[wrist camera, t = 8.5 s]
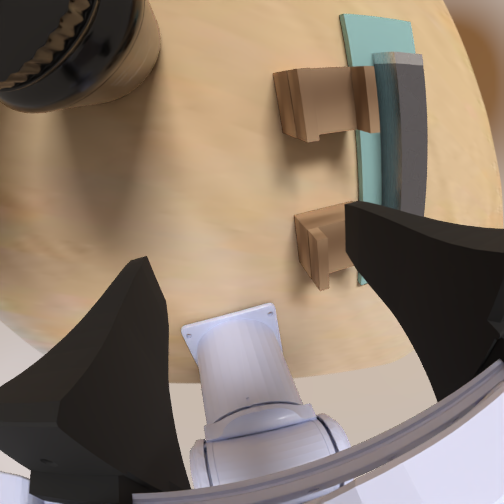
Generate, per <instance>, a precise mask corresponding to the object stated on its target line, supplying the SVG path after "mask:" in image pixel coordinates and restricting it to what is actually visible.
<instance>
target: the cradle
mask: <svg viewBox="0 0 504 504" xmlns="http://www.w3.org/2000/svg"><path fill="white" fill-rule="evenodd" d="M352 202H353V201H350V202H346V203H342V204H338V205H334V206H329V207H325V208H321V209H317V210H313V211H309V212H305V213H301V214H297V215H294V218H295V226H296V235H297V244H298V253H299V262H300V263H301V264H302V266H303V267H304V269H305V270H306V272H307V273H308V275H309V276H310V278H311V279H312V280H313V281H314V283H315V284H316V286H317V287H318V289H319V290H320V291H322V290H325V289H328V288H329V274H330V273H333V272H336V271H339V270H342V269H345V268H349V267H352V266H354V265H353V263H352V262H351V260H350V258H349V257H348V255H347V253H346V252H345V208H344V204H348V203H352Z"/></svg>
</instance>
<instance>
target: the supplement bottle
mask: <svg viewBox="0 0 504 504" xmlns="http://www.w3.org/2000/svg"><path fill="white" fill-rule="evenodd" d="M160 45H161V37H160V30H159V26H158V23H157V20H156V18H155V15H154V13H153V10H152V8H151V6H150V3H149V1H148V0H0V102H1V103H2V104H4V105H5V106H7V107H9V108H11V109H13V110H16V111H19V112H24V113H46V112H52V111H57V110H63V109H68V108H74V107H81V106H87V105H94V104H101V103H107V102H111V101H114V100H117V99H119V98H121V97H123V96H125V95H127V94H129V93H130V92H132V91H133V90H134V89H136V88H137V87H138V86H139V85H140V84H141V83H142V82H143V81H144V80H145V79H146V78H147V76H148V75H149V74H150V72H151V71H152V69H153V67H154V65H155V63H156V61H157V58H158V55H159V51H160Z"/></svg>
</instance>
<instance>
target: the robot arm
mask: <svg viewBox="0 0 504 504" xmlns="http://www.w3.org/2000/svg"><path fill="white" fill-rule="evenodd" d="M344 208H345V252H346V253H347V255H348V257H349V258H350V260H351V262H352V263H353V265H354V266H355V268H356V269H357V271H358V272H359V273H360V274H361V276H362V277H363V278H364V279H365V280H366V282H367V283H368V284H369V285H370V286H371V288H372V289H373V290H374V291H375V292H376V293H377V295H378V296H379V297H380V298H381V299H382V301H383V302H384V303H385V304H386V305H387V307H388V308H389V309H390V310H391V312H392V313H393V314H394V316H395V317H396V318H397V320H398V322H399V323H400V325H401V326H402V328H403V330H404V331H405V333H406V335H407V336H408V338H409V340H410V342H411V344H412V345H413V347H414V349H415V351H416V353H417V355H418V357H419V358H420V361H421V363H422V365H423V367H424V369H425V371H426V374H427V376H428V378H429V380H430V383H431V385H432V388H433V391H434V393H435V396H436V399H437V402H438V403H436V404H434V405H433V406H431V407H430V408H428V409H426V410H425V411H423V412H421V413H419V414H418V415H416V416H414V417H412V418H410V419H409V420H407V421H405V422H403V423H401V424H399V425H397V426H395V427H393V428H392V429H389V430H387V431H385V432H383V433H381V434H379V435H377V436H375V437H373V438H370V439H368V440H366V441H364V442H361V443H359V444H357V445H354V446H352V447H351V445H350V443H349V440H348V438H347V436H346V434H345V432H344V430H343V428H342V427H341V426H340V424H339V423H338V422H337V421H336V420H334V419H332V418H331V417H330V416H328V415H326V414H323V413H322V414H318V415H315V412H314V410H313V408H312V405H311V404H310V403H309V404H305V405H303V403H302V400H301V398H300V396H299V393H298V391H297V388H296V386H295V383H294V381H293V378H292V376H291V373H290V371H289V368H288V366H287V363H286V361H285V358H284V356H283V351H282V345H281V339H280V333H279V327H278V321H277V315H276V309H275V306H274V304H273V303H266V304H262V305H259V306H255V307H252V308H248V309H244V310H241V311H237V312H234V313H230V314H226V315H222V316H219V317H215V318H211V319H207V320H203V321H200V322H196V323H192V324H188V325H184V326H183V327H182V328H181V333H182V335H183V337H184V339H185V342H186V344H187V346H188V348H189V350H190V352H191V354H192V356H193V358H194V360H195V362H196V364H197V366H198V368H199V374H200V381H201V388H202V395H203V402H204V408H205V415H206V421H207V425H205V426H204V431H205V437H206V440H205V439H201V440H196V442H195V445H194V446H193V447H192V448H191V450H190V467H191V474H192V480H193V484H194V489H191V487H190V484H189V480H188V477H187V474H186V470H185V467H184V463H183V460H182V456H181V452H180V447H179V443H178V439H177V434H176V429H175V424H174V419H173V413H172V406H171V400H170V393H169V380H168V346H169V323H168V313H167V305H166V300H165V298H164V296H163V293H162V291H161V289H160V286H159V284H158V282H157V279H156V277H155V275H154V272H153V270H152V267H151V265H150V263H149V260H148V258H147V256H145V257H141V258H138V259H134V260H131V261H130V262H129V263H128V264H127V265H126V266H125V267H124V268H123V270H122V271H121V272H120V273H119V275H118V276H117V277H116V278H115V280H114V281H113V282H112V284H111V285H110V286H109V287H108V289H107V290H106V291H105V293H104V294H103V295H102V296H101V297H100V299H99V300H98V301H97V302H96V303H95V305H94V306H93V307H92V308H91V310H90V311H89V312H88V313H87V314H86V315H85V317H84V318H83V319H82V320H81V321H80V322H79V323H78V324H77V325H76V326H75V327H74V328H73V329H72V330H71V331H70V332H69V333H68V334H67V335H66V336H65V337H64V338H63V339H62V340H61V341H60V342H59V343H58V344H57V345H55V346H54V347H53V348H52V349H51V350H50V351H49V352H48V353H47V354H45V355H44V356H43V357H42V358H41V359H39V360H38V361H37V362H36V363H34V364H33V365H32V366H30V367H29V368H28V369H26V370H25V371H23V372H22V373H21V374H19V375H18V376H16V377H15V378H13V379H12V380H10V381H8V382H7V383H5V384H4V385H2V386H1V387H0V450H1V451H2V452H4V453H5V454H7V455H8V456H9V457H11V458H13V459H14V460H15V461H17V462H18V463H20V464H21V465H23V466H25V467H26V468H28V469H29V470H31V475H30V479H28V478H26V477H23V476H20V475H16V474H11V473H6V472H2V471H0V504H504V229H495V228H482V227H474V226H466V225H459V224H454V223H448V222H443V221H438V220H434V219H430V218H426V217H422V216H418V215H414V214H411V213H407V212H404V211H400V210H397V209H393V208H389V207H386V206H382V205H378V204H374V203H370V202H364V201H356V202H352V203H348V204H344ZM269 312H271V313H270V314H268V313H269ZM187 334H191V335H187ZM386 463H387V464H386ZM384 464H385V465H384ZM382 465H383V466H382ZM380 466H381V467H380ZM378 467H379V468H378ZM375 468H377V469H375ZM374 469H375V470H374ZM371 470H374V471H371ZM369 471H371V472H369ZM367 472H369V473H367ZM365 473H367V474H365ZM363 474H365V475H363ZM360 475H363V476H361V477H359V478H357V479H355V480H354V478H355V477H358V476H360Z"/></svg>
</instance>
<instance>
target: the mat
mask: <svg viewBox="0 0 504 504" xmlns="http://www.w3.org/2000/svg"><path fill="white" fill-rule="evenodd" d="M339 16H340V21H341V26H342V32H343V37H344V43H345V49H346V55H347V61H348V67H354V66H374V64H373V58H372V53H380V52H405V53H414V54H415V47H414V40H413V34H412V28H411V23H410V22H407V21H402V20H396V19H389V18H382V17H374V16H365V15H354V14H341V15H339ZM356 143H357V158H358V179H359V201H364V202H370V203H374V204H378V205H381V202H382V171H381V140H380V132H379V133H368V132H364V131H361V130H356ZM358 282H359V283H360V284H361V285H363V284H366V283H367V282H366V280H365V279H364V278H363V277H362V276H361V274H360V273H359V272H358Z"/></svg>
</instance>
